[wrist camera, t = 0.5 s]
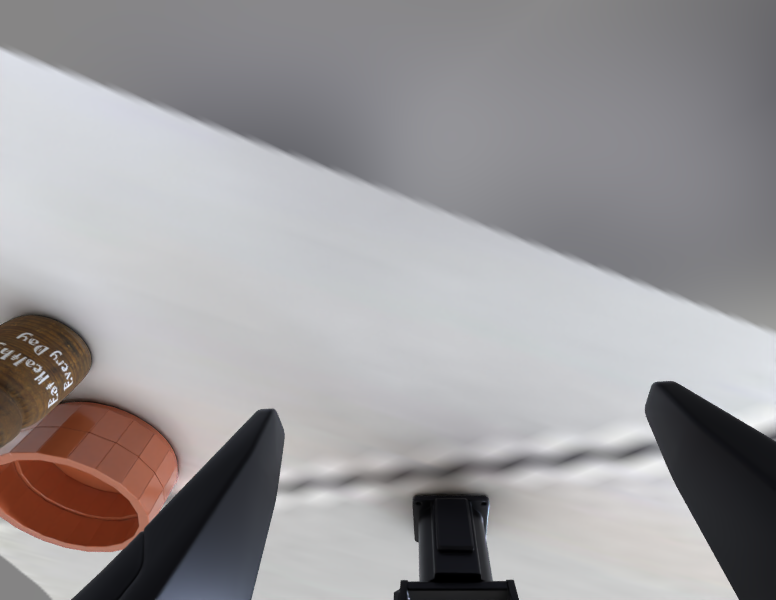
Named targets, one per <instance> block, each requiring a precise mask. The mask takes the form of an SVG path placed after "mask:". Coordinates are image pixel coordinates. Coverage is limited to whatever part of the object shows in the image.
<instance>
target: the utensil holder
mask: <svg viewBox="0 0 776 600" xmlns="http://www.w3.org/2000/svg"><path fill="white" fill-rule="evenodd" d="M90 367H91V355H90V352H89V349H88V347H87V345H86V344H85V342H84V341H83V340H82V339H81V338H80V337H79V335H77V334H76V333H75V332H74V331H73V330H71V329H70V328H69V327H67V326H66V325H64V324H62V323H60V322H58V321H56V320H53V319H50V318H47V317H43V316H37V315H26V316H20V317H17V318H14V319H12V320H9V321H7V322H5V323H4V324H2V325H0V448H2V447H3V446H5V445H6V444H7V443H9V442H10V441H12V440H13V439H14V438H15V437H16V436H17V435H18V434H19V433H20V431H21V429H24V428H27V427H29V426H31V425H33V424H35V423H37V422H38V421H39V420H41V419H42V418H43V417H45V416H46V415H47V414H48V413H49V412H50V411H51V410H53V409H54V408H55V407H56V406H57V405H58V404H59V403H60V402H61V401H62V400H63V399H64V398H65V397H66V396H67V395H68V394H69V393H70V392H71V391H72V390H73V389H74V388H75V387H76V386H77V385H78V384H79V383H80V382H81V381H82V380H83V379H84V377H85V376H86V375H87V373H88V371H89V369H90Z"/></svg>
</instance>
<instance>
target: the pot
mask: <svg viewBox="0 0 776 600" xmlns="http://www.w3.org/2000/svg"><path fill="white" fill-rule="evenodd" d="M177 479H178V466H177V459H176V456H175V453H174V451H173V449H172V447H171V446H170V444H169V443H168V442H167V440H166V439H165V438H164V437H163V436H162V435H161V434H160V433H159V432H158V431H157V430H156V429H154V428H153V427H152V426H151V425H149V424H148V423H146V422H145V421H143V420H141V419H140V418H138V417H136V416H134V415H132V414H130V413H128V412H126V411H123V410H120V409H118V408H115V407H111V406H108V405H103V404H99V403H92V402H68V403H63V404H59V405H57V406H56V407H55V408H54V409H53V410H51V411H50V412H49V413H48V414H47V415H46V416H45V417H43V418H42V419H41V420H39V421H38V422H37V423H35V424H33V425H31V426H29V427H27V428H24V429H21V431H20V433H19V434H18V435H17V436H16V437H15V438H14V439H13V440H12V441H10V442H9V443H7V444H6V445H5V446H3V447H2V448H0V517H1V518H3V519H4V520H6V521H7V522H9V523H10V524H12V525H13V526H14V527H16V528H18V529H20V530H22V531H24V532H26V533H28V534H30V535H32V536H34V537H36V538H38V539H41V540H43V541H46V542H49V543H52V544H55V545H58V546H62V547H65V548H70V549H76V550H81V551H87V552H114V551H119V550H123V549H124V548H125V547H126V546H127V545H128V544H129V543H130V542H131V541H132V540H133V539H134V538H135V537H136V536H137V535H138V534H139V533H140V532H141V531H143V532H144V528H145V527H146V526H147V525H148V524H149V523H150V522H151V520H152V519H153V518H154V517H155V516H156V515H157V514H158V513H159V512H160V510H161V508H162V506H163V504H164V503H165V501H166V499H167V497H168V495H169V494H170V492H171V490H172V488H173V486H174V485H175V483H176V481H177Z"/></svg>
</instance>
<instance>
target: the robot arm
mask: <svg viewBox="0 0 776 600" xmlns="http://www.w3.org/2000/svg"><path fill="white" fill-rule="evenodd" d="M645 414H646V417H647V420H648V422H649V425H650V427H651V429H652V432H653V434H654V436H655V439H656V441H657V444H658V446H659V448H660V451H661V453H662V455H663V458H664V460H665V463H666V465H667V467H668V470H669V472H670V474H671V476H672V478H673V480H674V482H675V484H676V486H677V488H678V490H679V492H680V494H681V495H682V497H683V499H684V501H685V503H686V504H687V506H688V508H689V510H690V512H691V513H692V515H693V517H694V519H695V521H696V523H697V524H698V526H699V528H700V530H701V532H702V533H703V535H704V537H705V539H706V541H707V542H708V544H709V546H710V548H711V550H712V552H713V553H714V555H715V557H716V559H717V561H718V562H719V564H720V566H721V568H722V570H723V571H724V573H725V575H726V577H727V579H728V580H729V582H730V584H731V586H732V588H733V590H734V591H735V593H736V595H737V597H738V599H739V600H776V441H774V440H772V439H771V438H769V437H767V436H766V435H764V434H762V433H761V432H759V431H757V430H756V429H754V428H752V427H751V426H749V425H747V424H745V423H744V422H742V421H740V420H739V419H737V418H735V417H734V416H732V415H730V414H729V413H727V412H725V411H724V410H722V409H720V408H719V407H717V406H715V405H713V404H712V403H710V402H708V401H707V400H705V399H703V398H702V397H700V396H698V395H697V394H695V393H693V392H692V391H690V390H688V389H686V388H685V387H683V386H681V385H680V384H678V383H676V382H673V381H664V382H655V383H653V384H652V386H651V389H650V392H649V395H648V398H647V402H646V405H645ZM284 439H285V434H284V429H283V426H282V424H281V421H280V419H279V416H278V414H277V412H276V410H275V409H261V410H258V411H257V412H255V414H254V415H253V416H252V417H251V418H250V419H249V420H248V421H247V422H246V423H245V424H244V425H243V426H242V427H241V428H240V429H239V430H238V431H237V432H236V433H235V434H234V435H233V436H232V437H231V438H230V439H229V441H228V442H227V443H226V444H225V445H224V446H223V447H222V448H221V449H220V450H219V451H218V452H217V453H216V454H215V455H214V456H213V457H212V458H211V459H210V460H209V461H208V462H207V463H206V464H205V465H204V466H203V468H202V469H201V470H200V471H199V472H198V473H197V474H196V475H195V476H194V477H193V478H192V479H191V480H190V481H189V482H188V483H187V484H186V485H185V486H184V487H183V488H182V489H181V490H180V491H179V492H178V493H177V495H176V496H175V497H174V498H173V499H172V500H171V501H170V502H169V503H168V504H167V505H166V506H165V507H164V508H163V509H162V510H161V511H160V512H159V513H158V514H157V515H156V516H155V517H154V518H153V519H152V520H151V522H150V523H149V524H148V525H147V526H146V527H145V528H144V532H143V531H141V532H140V533H139V534H138V535H137V536H136V537H135V538H134V539H133V540H132V541H131V542H130V543H129V544H128V545H127V546H126V547H125V548H124V549H123V550H122V551H121V552H120V553H119V554H118V555H117V556H116V557H115V558H114V559H113V560H112V561H111V562H110V563H109V564H108V565H107V566H106V567H105V568H104V569H103V570H102V571H101V572H100V573H99V574H98V575H97V576H96V577H95V578H94V579H93V580H92V581H91V582H90V583H89V584H87V585H86V586H85V587H84V588H83V589H82V590H81V591H80V592H79V593H78V594H77V595H76V596H75V597H74V598H73V599H71V600H251V598H252V594H253V590H254V586H255V582H256V578H257V574H258V570H259V566H260V562H261V558H262V554H263V550H264V546H265V542H266V538H267V534H268V530H269V526H270V522H271V518H272V514H273V510H274V506H275V501H276V496H277V490H278V483H279V476H280V468H281V461H282V454H283V447H284ZM488 514H489V498H488V497H487V496H415V497H413V516H414V534H415V541H416V542H419V580H420V582H408V580H401V584H400V589H399V590H397V591H396V592H394V600H519V598H518V594H517V591H516V587H515V583H514V580H506V581H493V579H492V573H491V567H490V561H489V555H488V548H487V542H486V533H487V523H488Z"/></svg>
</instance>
